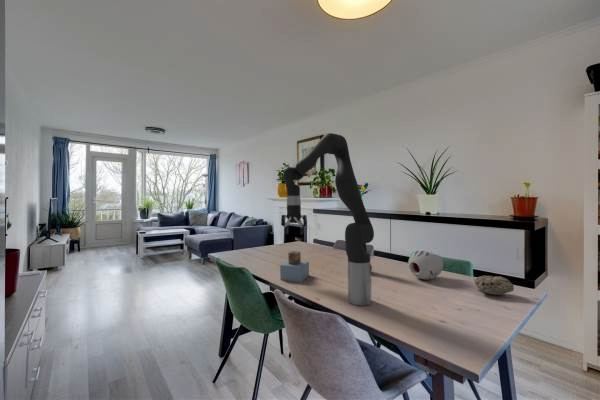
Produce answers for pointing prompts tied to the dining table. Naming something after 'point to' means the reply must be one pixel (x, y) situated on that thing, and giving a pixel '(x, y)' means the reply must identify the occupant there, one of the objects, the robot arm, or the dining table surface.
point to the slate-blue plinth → (294, 271)
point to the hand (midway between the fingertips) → (294, 234)
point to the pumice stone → (493, 285)
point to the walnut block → (294, 257)
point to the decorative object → (425, 264)
